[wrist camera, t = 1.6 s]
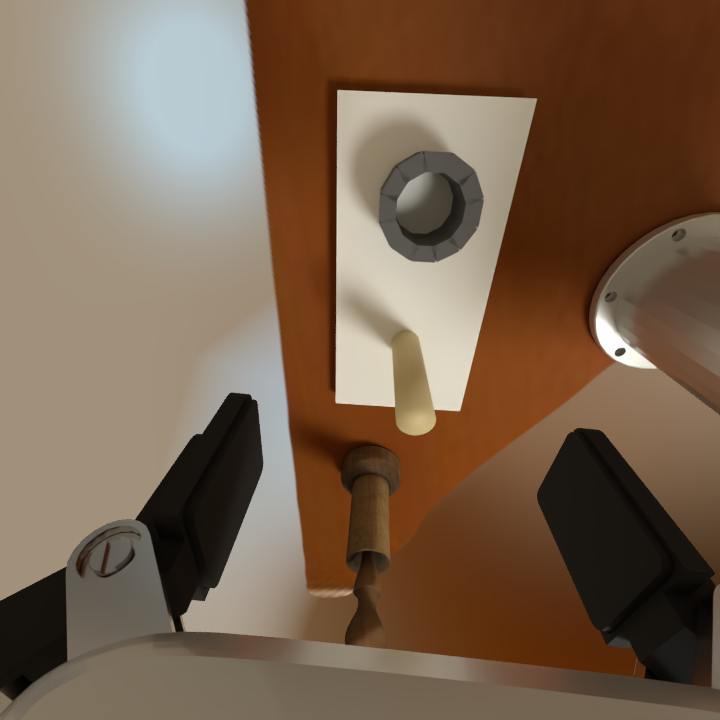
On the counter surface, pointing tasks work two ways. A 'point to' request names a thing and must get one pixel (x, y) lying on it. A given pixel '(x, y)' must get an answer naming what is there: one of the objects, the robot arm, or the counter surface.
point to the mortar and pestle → (369, 535)
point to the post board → (419, 215)
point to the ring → (457, 223)
